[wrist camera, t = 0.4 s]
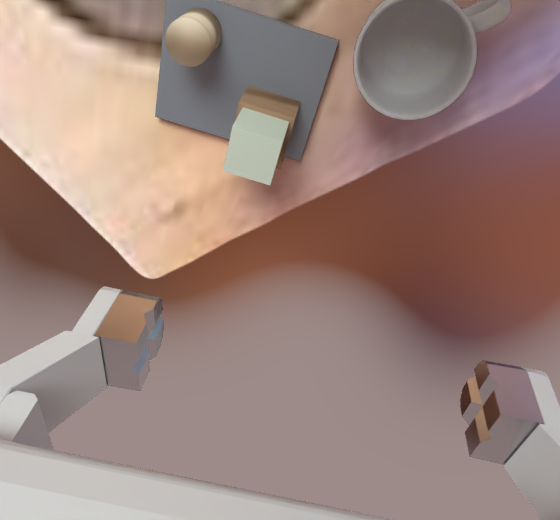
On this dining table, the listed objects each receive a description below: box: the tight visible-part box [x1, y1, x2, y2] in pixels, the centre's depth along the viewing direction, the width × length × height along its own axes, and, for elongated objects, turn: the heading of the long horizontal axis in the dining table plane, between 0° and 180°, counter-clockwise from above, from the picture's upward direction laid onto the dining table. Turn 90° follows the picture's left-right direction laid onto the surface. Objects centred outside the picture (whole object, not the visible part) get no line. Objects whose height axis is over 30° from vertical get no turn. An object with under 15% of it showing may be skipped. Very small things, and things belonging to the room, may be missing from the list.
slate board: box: [155, 0, 339, 161], centre depth 53 cm, size 14×18×1 cm
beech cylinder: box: [165, 7, 222, 67], centre depth 48 cm, size 4×4×5 cm
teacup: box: [353, 0, 511, 120], centre depth 45 cm, size 14×11×8 cm
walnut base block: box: [235, 85, 300, 168], centre depth 53 cm, size 6×6×5 cm
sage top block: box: [223, 107, 289, 185], centre depth 49 cm, size 5×5×5 cm
